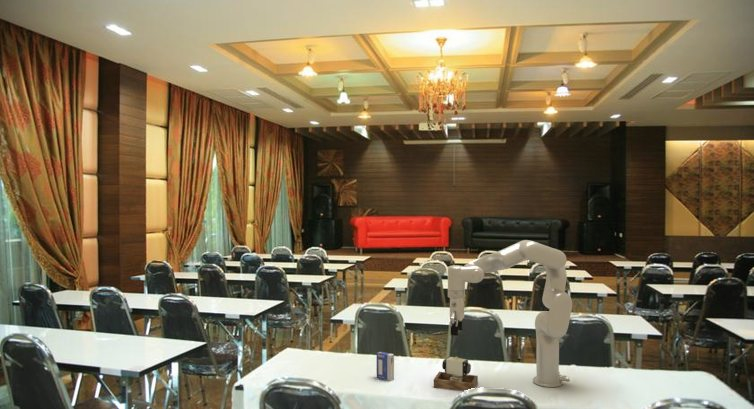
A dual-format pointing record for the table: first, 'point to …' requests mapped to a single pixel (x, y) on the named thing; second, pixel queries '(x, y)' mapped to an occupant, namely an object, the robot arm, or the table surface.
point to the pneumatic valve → (456, 368)
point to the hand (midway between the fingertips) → (456, 332)
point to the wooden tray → (455, 382)
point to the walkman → (385, 366)
